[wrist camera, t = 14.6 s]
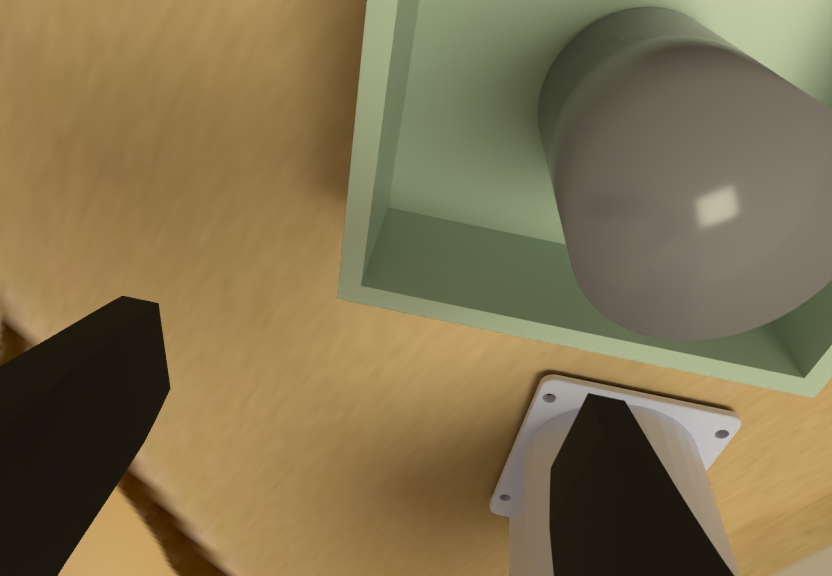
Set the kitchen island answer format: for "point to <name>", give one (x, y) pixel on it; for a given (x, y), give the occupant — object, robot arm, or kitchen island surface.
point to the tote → (532, 178)
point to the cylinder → (685, 177)
